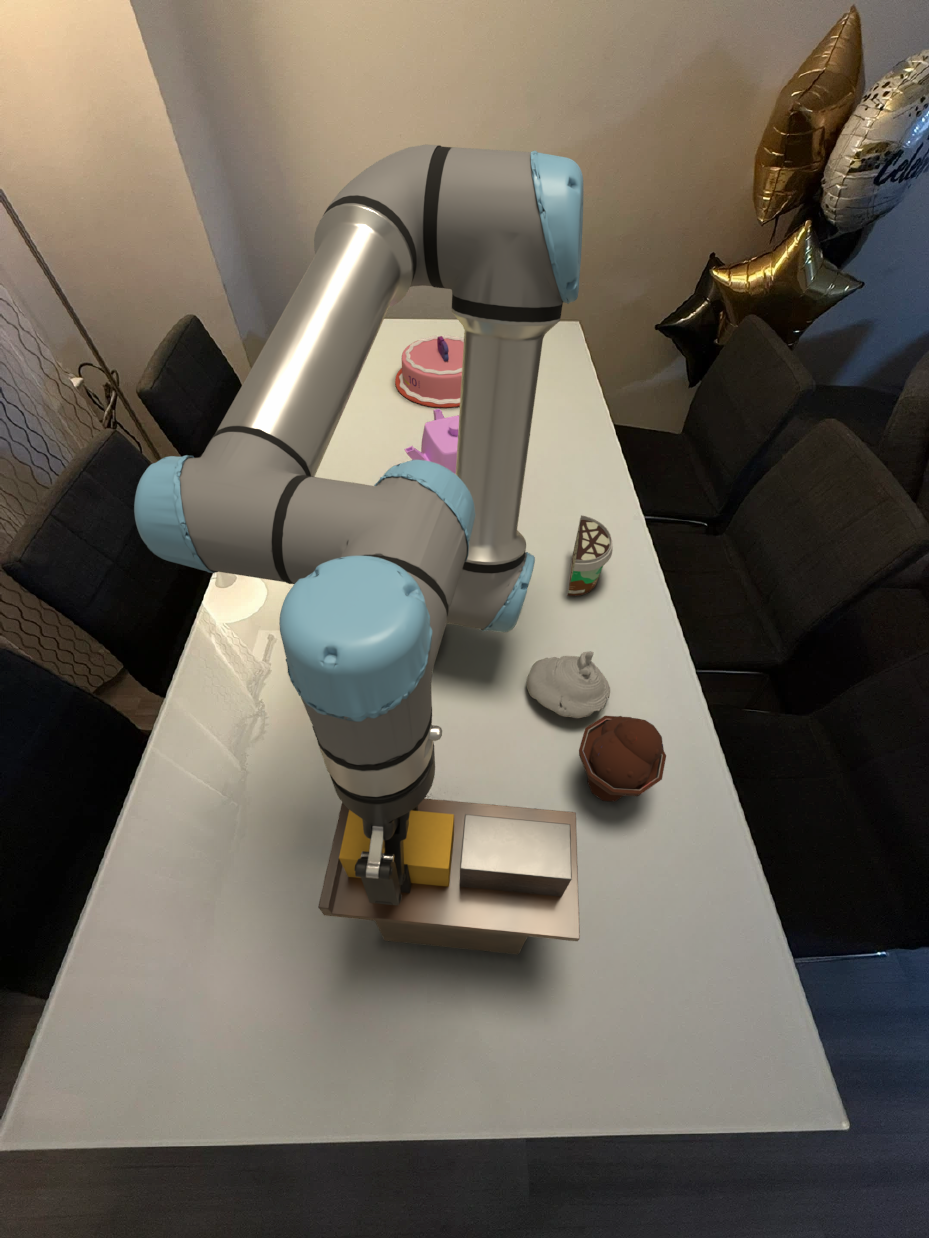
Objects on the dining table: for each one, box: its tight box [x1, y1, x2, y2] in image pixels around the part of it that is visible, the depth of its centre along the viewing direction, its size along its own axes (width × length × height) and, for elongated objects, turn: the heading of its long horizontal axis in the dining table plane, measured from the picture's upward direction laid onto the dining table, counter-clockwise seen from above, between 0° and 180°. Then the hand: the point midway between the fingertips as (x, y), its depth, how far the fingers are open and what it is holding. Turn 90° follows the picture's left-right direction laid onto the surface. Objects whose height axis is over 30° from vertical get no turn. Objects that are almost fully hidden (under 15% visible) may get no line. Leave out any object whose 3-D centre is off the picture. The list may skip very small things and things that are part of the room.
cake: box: [394, 334, 464, 408], centre depth 145 cm, size 25×25×11 cm
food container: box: [566, 515, 614, 597], centre depth 102 cm, size 12×6×10 cm, turn 168°
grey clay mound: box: [526, 650, 611, 719], centre depth 87 cm, size 12×12×11 cm
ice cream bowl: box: [578, 715, 667, 802], centre depth 76 cm, size 11×11×15 cm
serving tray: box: [318, 797, 581, 955], centre depth 63 cm, size 24×12×23 cm, turn 85°
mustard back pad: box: [339, 810, 454, 887], centre depth 56 cm, size 10×5×6 cm, turn 85°
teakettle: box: [404, 408, 459, 474], centre depth 120 cm, size 17×17×12 cm
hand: (401, 855), depth 58 cm, fingers closed on mustard back pad, 5 cm apart
